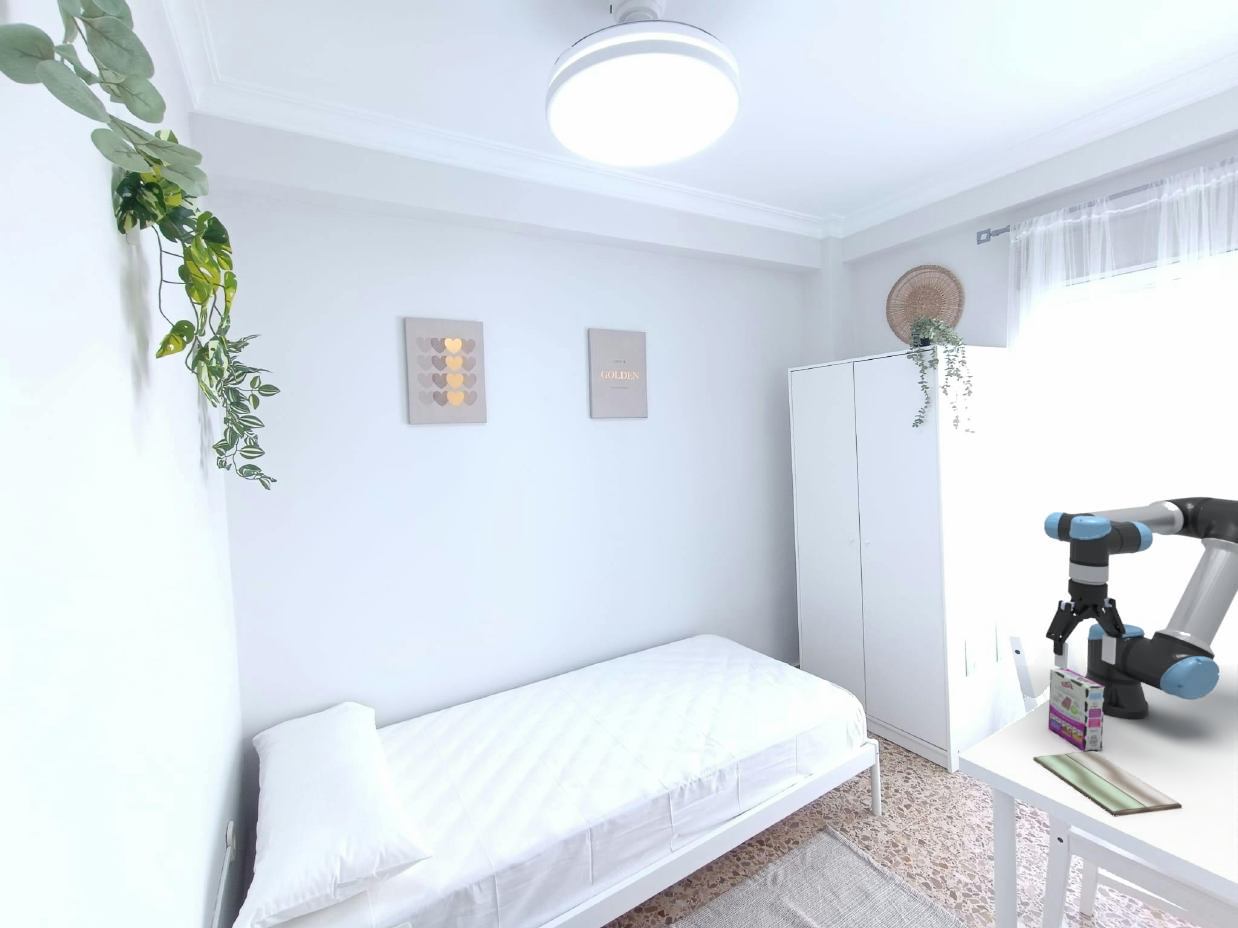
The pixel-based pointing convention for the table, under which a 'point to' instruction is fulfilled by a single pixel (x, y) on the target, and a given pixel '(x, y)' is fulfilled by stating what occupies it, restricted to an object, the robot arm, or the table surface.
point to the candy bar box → (1076, 709)
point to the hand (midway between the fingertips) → (1084, 664)
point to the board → (1106, 783)
